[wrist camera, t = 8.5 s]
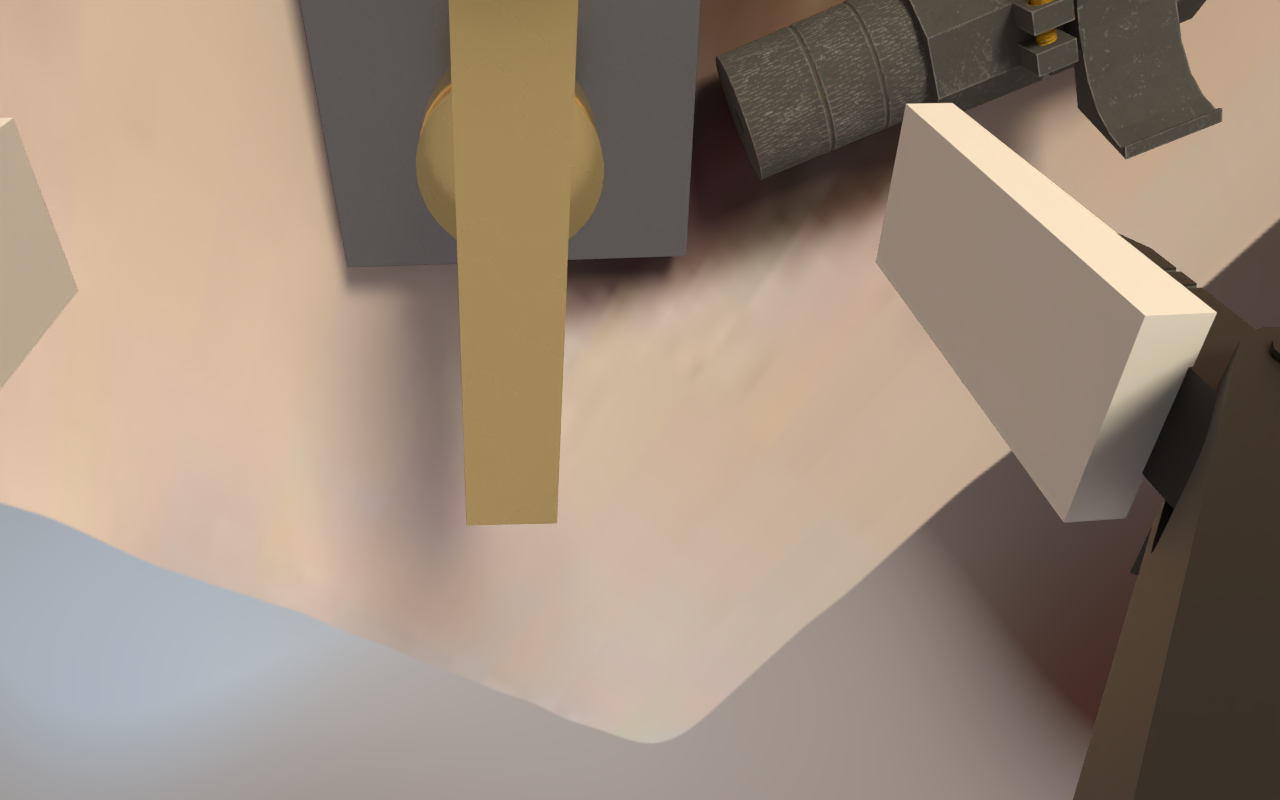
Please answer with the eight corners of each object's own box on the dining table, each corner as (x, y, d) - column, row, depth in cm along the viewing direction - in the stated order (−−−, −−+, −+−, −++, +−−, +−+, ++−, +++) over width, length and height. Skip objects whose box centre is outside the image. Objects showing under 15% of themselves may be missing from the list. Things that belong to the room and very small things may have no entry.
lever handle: (434, 316, 39) (407, 526, 28) (411, -114, 30) (359, -41, 19) (584, 317, 40) (613, 522, 29) (607, -99, 31) (661, -21, 20)
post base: (287, -133, 35) (245, -111, 29) (698, -127, 37) (733, -106, 31) (353, 248, 44) (330, 321, 39) (679, 238, 46) (704, 306, 40)
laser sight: (690, -6, 40) (737, 55, 32) (1207, -234, 37) (1404, -231, 29) (755, 189, 45) (809, 284, 37) (1208, 3, 43) (1373, 61, 35)
